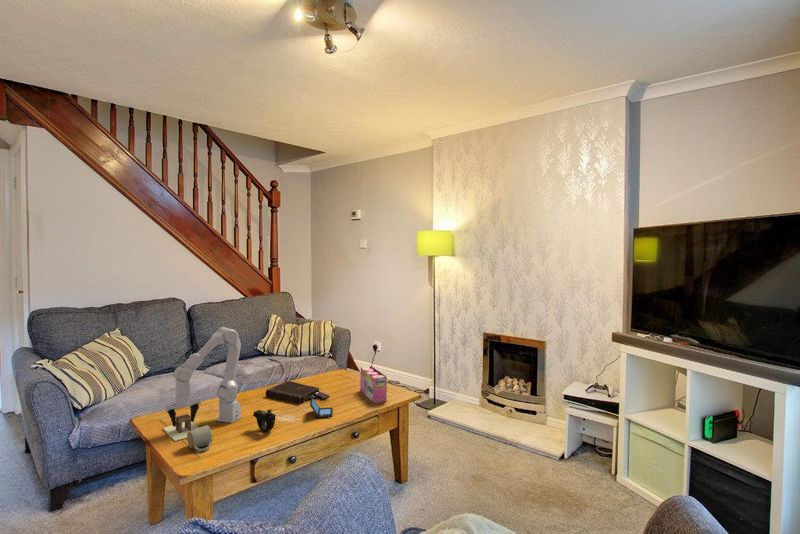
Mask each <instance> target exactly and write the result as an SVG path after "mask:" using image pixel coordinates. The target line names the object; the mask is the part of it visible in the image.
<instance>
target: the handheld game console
mask: <svg viewBox="0 0 800 534" xmlns="http://www.w3.org/2000/svg"><path fill="white" fill-rule="evenodd" d="M309 401H310V403H309V406H310V408H311V409H312V411H313V413H314V414H315V415H316V419H317V418H321V419H329V418H328V417H332V418H333V409H334V408H333V407H320V406H319V405H318V403H317V402H316V400H315V398H314V399H313V397H311V400H309Z"/></svg>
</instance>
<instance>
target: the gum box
mask: <svg viewBox="0 0 800 534" xmlns="http://www.w3.org/2000/svg"><path fill="white" fill-rule="evenodd" d="M387 383H388V378H387V376H386V375H385V374H384V373H382V372H381V371H379V370H377V368H375V367H373V366H369V367H364V368H363V367H360V383H359V384H360V386H359V387H360V390H361V391H362V392H363V393H364V395H365V397H367V399H369V401H371V402H372V403H373V402H377V403H384V402H387V399H388V397H387V391H388V390H387V389H388V388H387V387H388V386H387V385H388V384H387ZM361 391H360V392H361ZM362 392H361V393H362ZM363 393H362V394H363ZM383 401H384V402H383Z"/></svg>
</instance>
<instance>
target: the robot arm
mask: <svg viewBox="0 0 800 534" xmlns="http://www.w3.org/2000/svg"><path fill="white" fill-rule="evenodd" d="M239 336H240V334H239V332H237V331H236V330H235V329H232V328H229V327H226V326H221V327H219V328H218V329H217V330H216V331H215V332H213V335H212V336H211V337H210V339H208V340H207V342H206V343H205V344H204V345H203V346H202V347H201V348H200V350H198V352H194V353H192V354H190V355H189V356H188V358H187V359H186V360H185V362H184V363H181V364H180V366H178V367H177V368H175V370H174V372H173V374H172V376H173V378H174V379H175V403H173V404H170V405H166V406H164V412H165V413H167V414H168V416H169V418H170V421H171V426H172V425H173V427H175V426H176V416H177V412H176V411H175V410H180V409H183V408H189V409H190V417H191V421H192V422H193V423H194V422H195V418H196V415H197V413H198V410H199V408H200V405H201V404H202V400H201V399H199V398H198V399H193V400H191V384H190V381H191V378H193V377H192V376H193V373H194V372H195V371H196V370H197V368H199V366H201V364H202V363H204V358H205V357H206V356H207V355H208V354H209V353H210V352H211V351H212V350H214V348H215V347H217V346H218V345H219V346H220V345H223V344H225V345H226V346H227V347H228V351H227V357H226V362H225V368H224V371H223V372H224V373H223V378H222V380H221V382H220V383H219V386H218V388H217V390H216V396H217V397H218V416H219V417H217V418H216V419H215V420H214V421H215V422H223V423H229V424H231V423H234V422H236V421H237V420H239V419H241V418H243V417H242V414H241V413H242V409H241V408H242V405H241V402H239V401H238V400H236V399H237V397H238V391H237V388H238V386H237V383H236V377H237V376H236V375H237V370H238V364H239V359H240V355H241V354H240V353H241V349H242V343H241V340H240V337H239Z"/></svg>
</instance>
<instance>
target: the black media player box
mask: <svg viewBox="0 0 800 534" xmlns="http://www.w3.org/2000/svg"><path fill="white" fill-rule="evenodd" d="M320 389H322V387H318V386H313V385H308V384H307V385H306V384H304V383H300V382H296V381H290V380H287V381H284V382H281V383H279V384H276V385H274V386H272V387H270V388H267V389H266V391H265V397H266V398H269V397H270V399H274V398H275V400H278V399H279V400H278V401H282V400H283V402H287V401H288V403H291V402H292V403H291V404H296V403H297V405H300V404H301V405H302V404H303V403H305V402H307V401H306V400H308V399H309V398H310V397H311V396H312V395H313V394H314V393H316V392H319V393H320ZM304 401H305V402H304ZM308 401H309V400H308Z"/></svg>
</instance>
